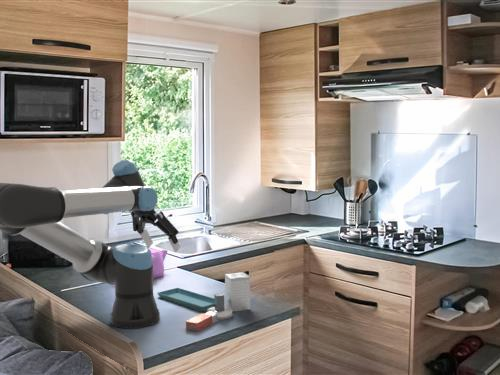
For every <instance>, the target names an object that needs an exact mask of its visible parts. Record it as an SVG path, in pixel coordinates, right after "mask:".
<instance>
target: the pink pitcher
mask: <svg viewBox="0 0 500 375" xmlns="http://www.w3.org/2000/svg"><path fill="white" fill-rule="evenodd" d="M147 248H148V247H147ZM148 249H149V250H150V251H151V254H152V260H153V280H154V279H157V278H162V277H163V276H164V273H165V265H164V264H165V263H164V261H165V259H166V256H167V254H168V250H166V249H162V250H159V249H158V250H157V249H155V248H151V247H149V248H148Z"/></svg>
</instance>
